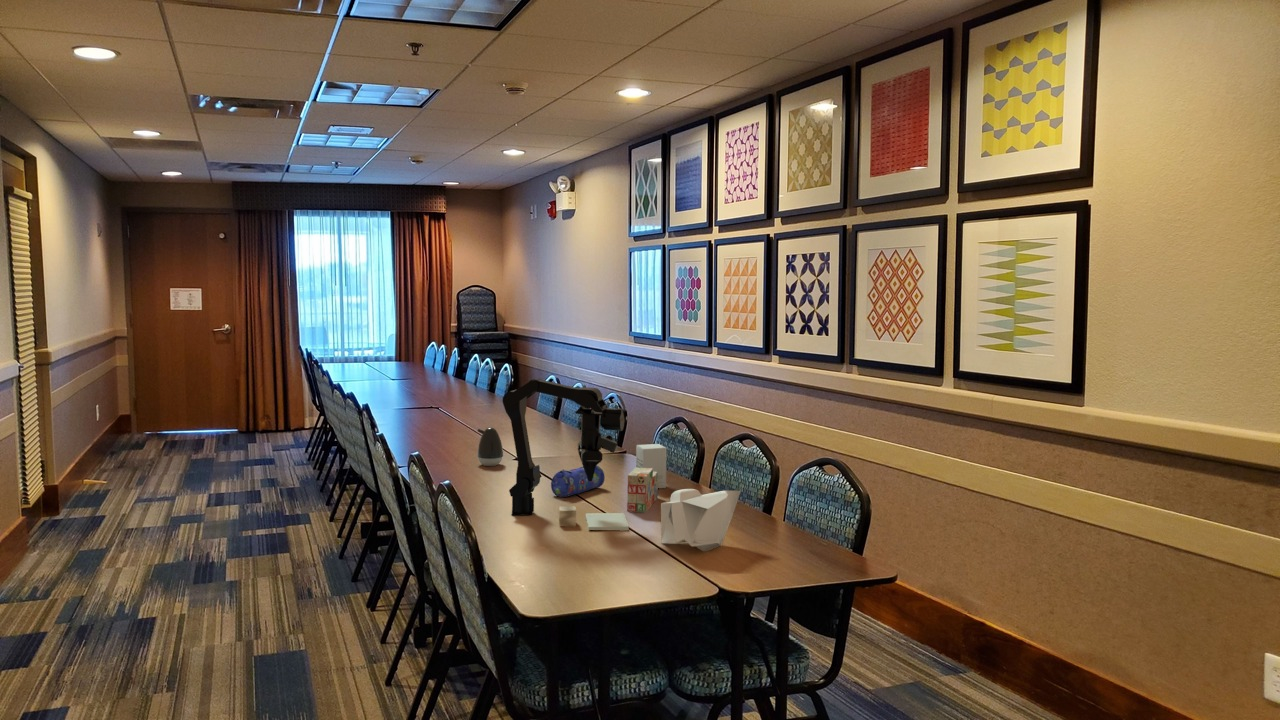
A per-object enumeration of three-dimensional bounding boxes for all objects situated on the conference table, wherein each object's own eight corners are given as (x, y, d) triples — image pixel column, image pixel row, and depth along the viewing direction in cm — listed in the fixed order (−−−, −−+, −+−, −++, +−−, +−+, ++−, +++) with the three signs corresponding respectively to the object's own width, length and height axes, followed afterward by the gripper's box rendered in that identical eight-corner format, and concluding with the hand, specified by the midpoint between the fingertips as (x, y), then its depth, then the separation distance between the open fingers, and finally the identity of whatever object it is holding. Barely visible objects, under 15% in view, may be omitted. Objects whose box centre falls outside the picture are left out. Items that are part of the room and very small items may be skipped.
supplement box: (658, 483, 341) (659, 443, 340) (666, 488, 333) (667, 447, 332) (635, 484, 339) (635, 444, 337) (642, 489, 330) (643, 448, 329)
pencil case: (566, 500, 313) (567, 472, 313) (547, 496, 318) (548, 469, 318) (606, 488, 331) (606, 462, 330) (587, 485, 336) (588, 459, 335)
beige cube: (559, 526, 279) (559, 510, 278) (559, 522, 284) (559, 506, 283) (575, 526, 279) (576, 510, 279) (575, 522, 284) (575, 506, 284)
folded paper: (655, 485, 260) (687, 503, 245) (725, 478, 272) (759, 494, 257) (651, 542, 263) (682, 564, 248) (721, 533, 274) (755, 553, 260)
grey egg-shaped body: (481, 461, 375) (481, 425, 374) (506, 463, 374) (506, 426, 373) (473, 466, 365) (473, 429, 364) (498, 468, 364) (499, 430, 363)
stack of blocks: (640, 497, 320) (640, 462, 319) (657, 498, 318) (658, 463, 317) (626, 511, 299) (627, 474, 298) (645, 513, 297) (646, 475, 296)
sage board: (588, 530, 274) (588, 526, 274) (585, 517, 290) (585, 513, 290) (628, 530, 276) (628, 526, 276) (623, 516, 292) (623, 513, 291)
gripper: (619, 434, 279) (617, 484, 280) (612, 424, 297) (610, 471, 299) (583, 433, 277) (581, 484, 279) (578, 423, 296) (576, 471, 297)
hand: (588, 477), depth 288 cm, fingers open, 9 cm apart
